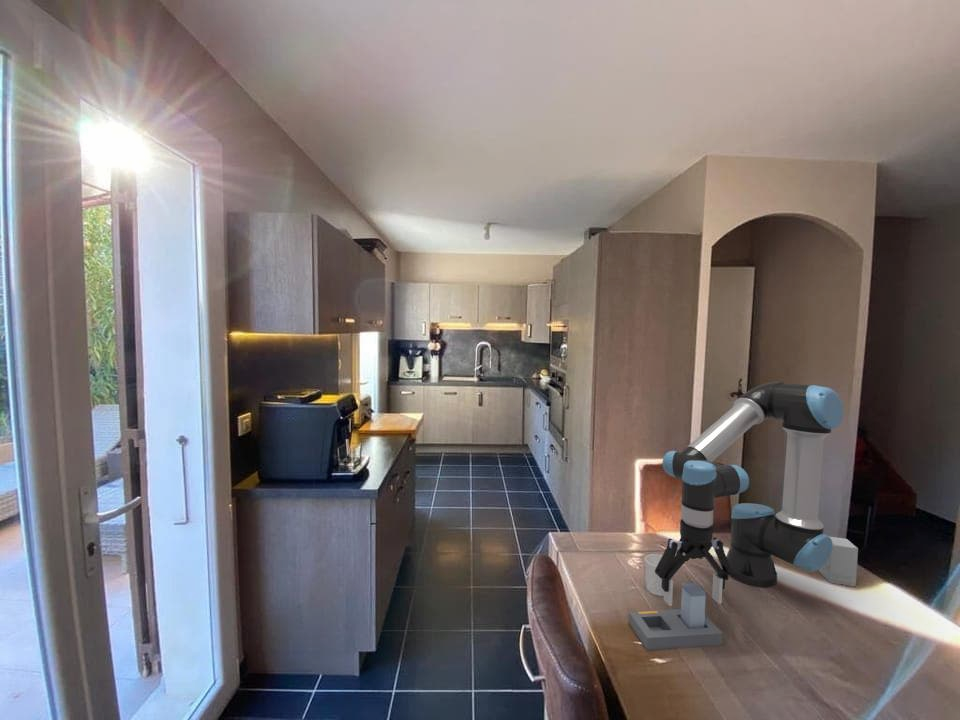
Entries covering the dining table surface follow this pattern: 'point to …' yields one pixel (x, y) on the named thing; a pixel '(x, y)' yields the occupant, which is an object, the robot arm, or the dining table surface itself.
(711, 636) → the panel
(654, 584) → the white cup
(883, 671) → the dining table surface
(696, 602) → the plug
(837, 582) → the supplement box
